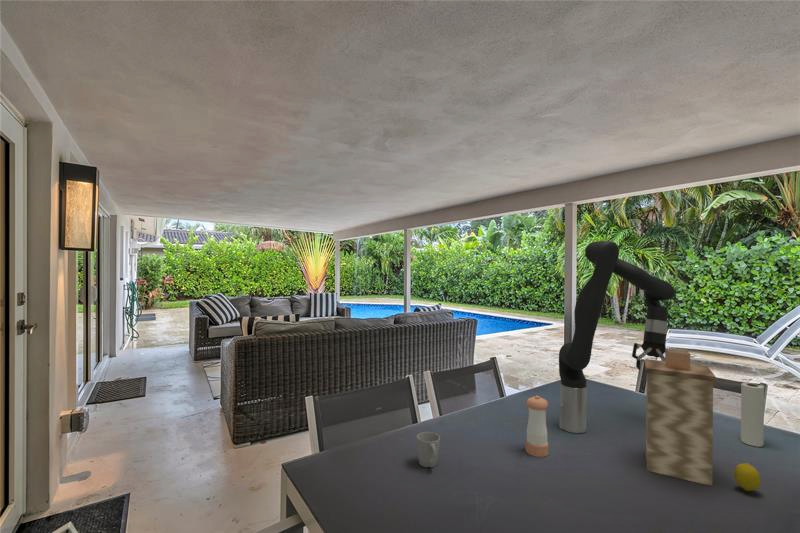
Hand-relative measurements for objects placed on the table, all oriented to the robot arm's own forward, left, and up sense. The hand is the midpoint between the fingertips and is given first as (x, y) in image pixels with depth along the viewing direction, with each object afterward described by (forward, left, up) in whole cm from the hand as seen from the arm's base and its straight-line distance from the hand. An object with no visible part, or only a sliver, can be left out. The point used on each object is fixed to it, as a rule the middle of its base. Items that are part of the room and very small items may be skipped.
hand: (651, 372), depth 154 cm
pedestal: (+6, -34, -22) cm, 41 cm away
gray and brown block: (+6, -26, +10) cm, 28 cm away
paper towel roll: (+32, +3, -22) cm, 39 cm away
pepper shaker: (-34, -47, -22) cm, 62 cm away
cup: (-61, -75, -22) cm, 99 cm away
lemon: (+22, -39, -22) cm, 50 cm away
